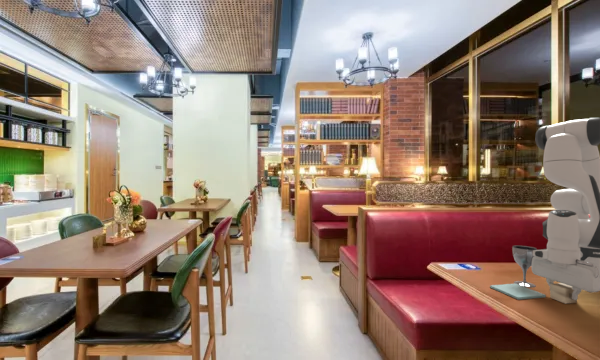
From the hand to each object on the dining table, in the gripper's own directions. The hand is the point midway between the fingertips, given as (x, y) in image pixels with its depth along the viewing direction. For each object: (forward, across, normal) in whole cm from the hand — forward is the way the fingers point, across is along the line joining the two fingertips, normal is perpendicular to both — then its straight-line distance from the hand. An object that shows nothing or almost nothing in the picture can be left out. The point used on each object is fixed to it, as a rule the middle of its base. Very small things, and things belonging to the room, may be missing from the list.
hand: (563, 295), depth 102 cm
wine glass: (+2, +16, -2) cm, 16 cm away
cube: (+2, 0, 0) cm, 2 cm away
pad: (+2, +10, +9) cm, 13 cm away
